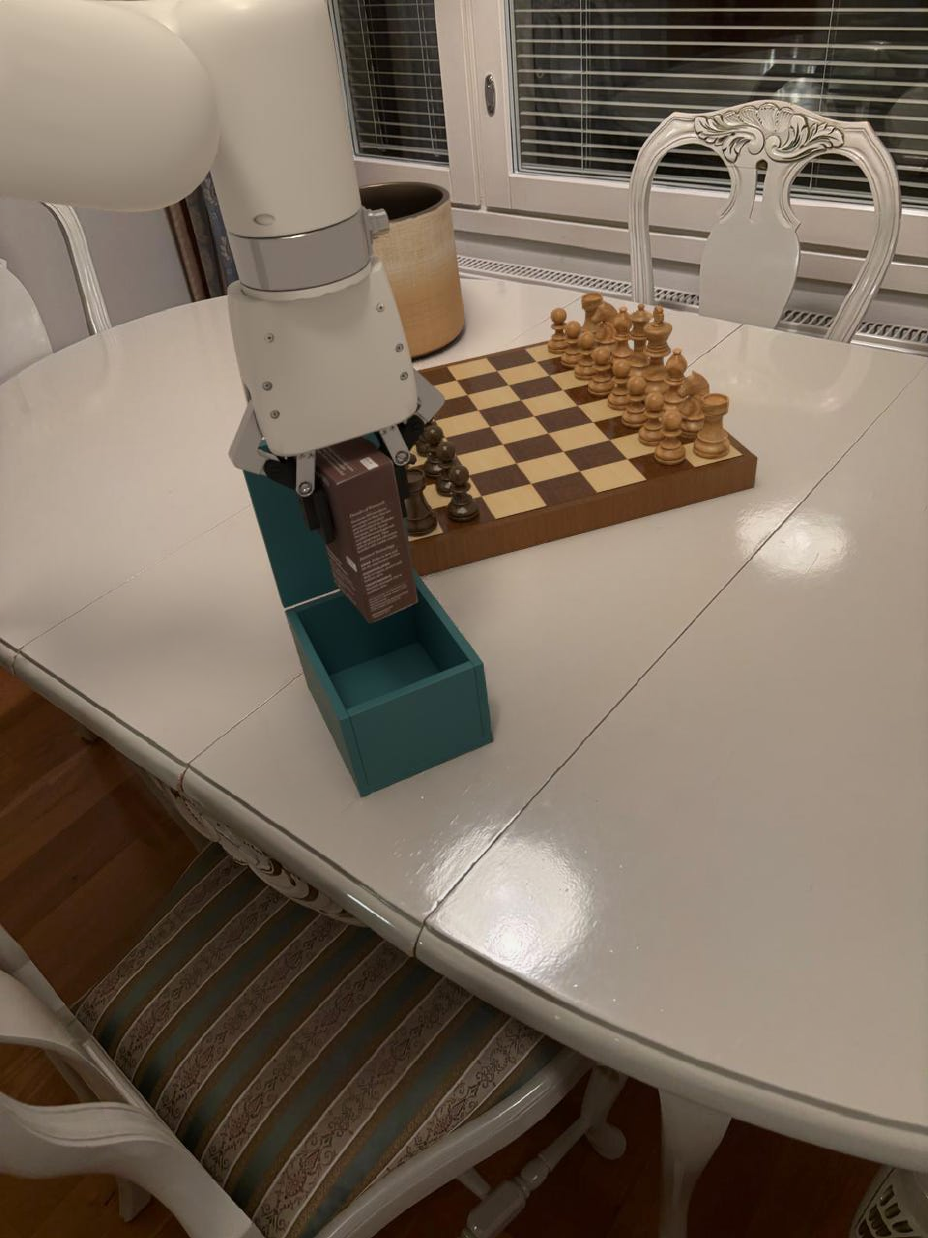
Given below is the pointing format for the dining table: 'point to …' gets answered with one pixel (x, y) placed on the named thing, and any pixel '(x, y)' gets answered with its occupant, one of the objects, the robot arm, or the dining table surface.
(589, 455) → the chess set
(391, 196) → the planter
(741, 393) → the dining table surface
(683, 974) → the dining table surface
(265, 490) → the lid
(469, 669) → the chest
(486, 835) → the dining table surface
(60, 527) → the dining table surface
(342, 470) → the box
